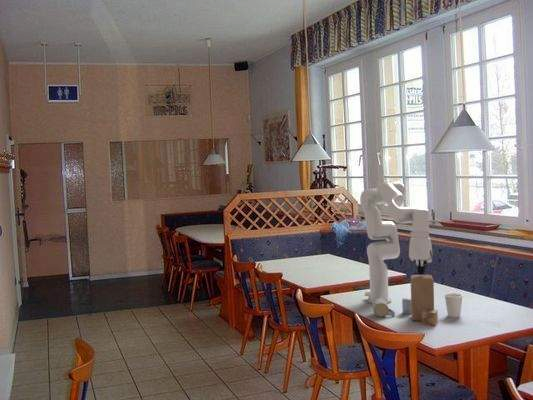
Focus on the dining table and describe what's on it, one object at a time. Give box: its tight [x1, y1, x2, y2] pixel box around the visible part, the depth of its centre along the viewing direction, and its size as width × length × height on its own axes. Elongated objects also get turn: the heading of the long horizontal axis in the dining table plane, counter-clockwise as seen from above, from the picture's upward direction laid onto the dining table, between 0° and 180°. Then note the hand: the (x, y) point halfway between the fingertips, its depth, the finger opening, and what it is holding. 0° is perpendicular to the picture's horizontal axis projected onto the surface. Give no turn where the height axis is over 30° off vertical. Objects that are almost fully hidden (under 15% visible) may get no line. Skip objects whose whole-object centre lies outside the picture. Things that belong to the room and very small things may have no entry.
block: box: [410, 274, 435, 322], centre depth 281 cm, size 10×10×20 cm
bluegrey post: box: [401, 297, 412, 316], centre depth 292 cm, size 5×5×7 cm
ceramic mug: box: [371, 298, 396, 318], centre depth 290 cm, size 11×8×8 cm
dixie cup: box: [444, 292, 463, 318], centre depth 284 cm, size 8×8×10 cm
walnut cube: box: [421, 309, 439, 327], centre depth 272 cm, size 6×6×6 cm
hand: (421, 274), depth 281 cm, fingers closed
